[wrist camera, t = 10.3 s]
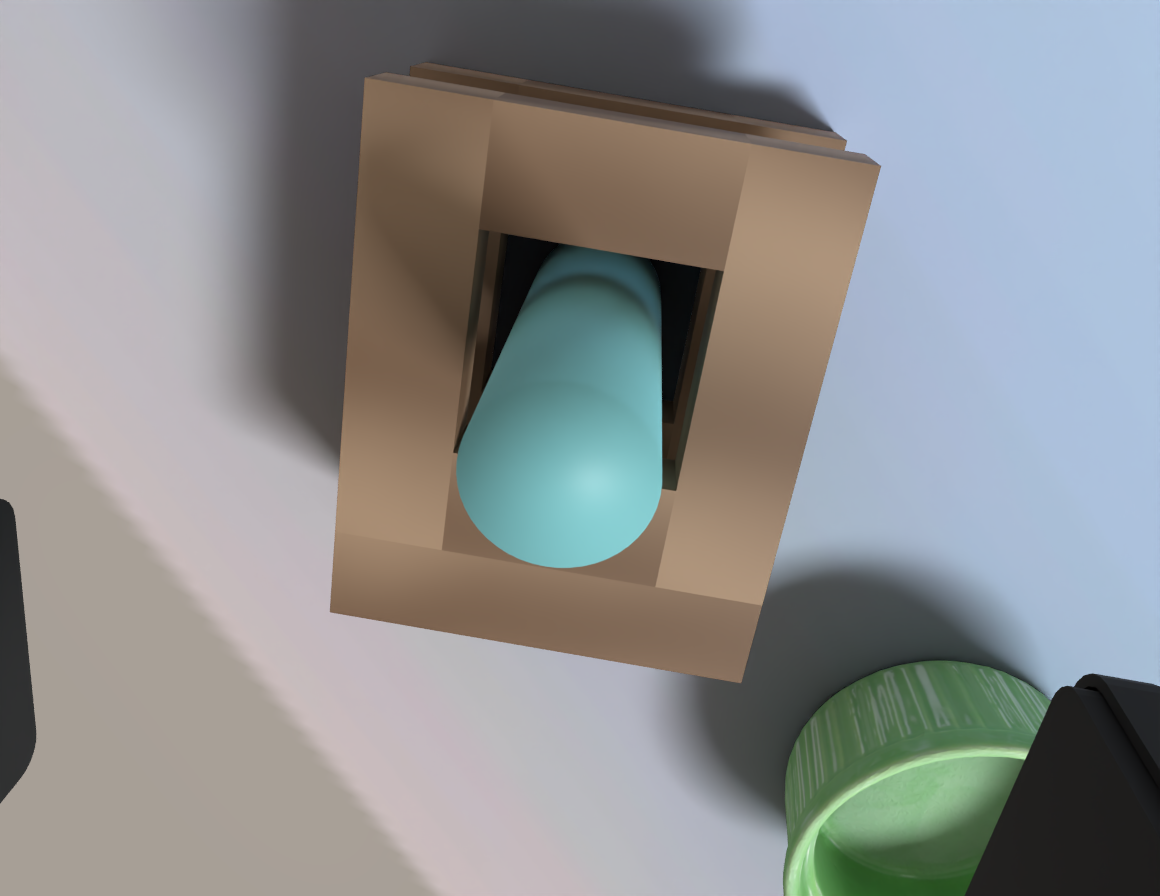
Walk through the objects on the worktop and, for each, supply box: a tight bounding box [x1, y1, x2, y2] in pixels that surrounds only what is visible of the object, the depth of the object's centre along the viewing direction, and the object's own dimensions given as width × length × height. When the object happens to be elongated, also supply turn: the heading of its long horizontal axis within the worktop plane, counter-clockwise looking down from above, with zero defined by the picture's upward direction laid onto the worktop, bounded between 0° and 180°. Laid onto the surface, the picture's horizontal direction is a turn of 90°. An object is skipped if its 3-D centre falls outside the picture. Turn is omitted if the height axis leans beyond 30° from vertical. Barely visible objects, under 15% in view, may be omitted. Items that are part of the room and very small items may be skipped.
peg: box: [456, 243, 662, 568], centre depth 19 cm, size 3×3×10 cm
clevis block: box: [330, 62, 881, 683], centre depth 22 cm, size 11×9×5 cm
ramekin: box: [783, 661, 1051, 896], centre depth 27 cm, size 9×9×4 cm
